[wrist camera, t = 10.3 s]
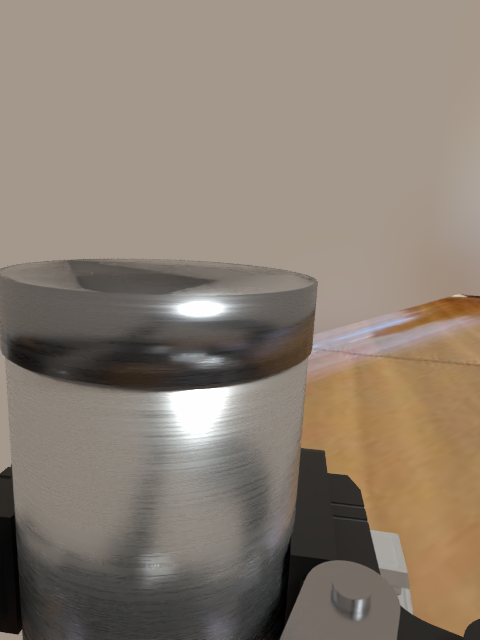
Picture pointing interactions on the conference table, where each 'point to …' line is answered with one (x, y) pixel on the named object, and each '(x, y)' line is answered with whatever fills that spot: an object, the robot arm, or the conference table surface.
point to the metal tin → (154, 444)
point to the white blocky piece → (393, 565)
